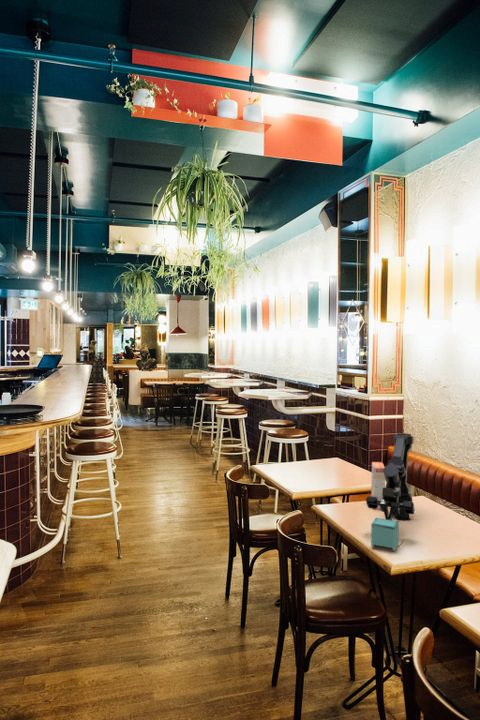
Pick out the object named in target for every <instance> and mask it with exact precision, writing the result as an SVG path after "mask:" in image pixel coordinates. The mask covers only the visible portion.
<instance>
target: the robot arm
mask: <svg viewBox="0 0 480 720" xmlns="http://www.w3.org/2000/svg"><path fill="white" fill-rule="evenodd" d="M414 442H415V438H414V436H412V434H411V433H403V432H402V433H400V432H397V434H393V443H394V448H393V453H392V456H391V457H392V458H390V459H389V460H388V461H387V465H386V466H384V467H385V468H384V469H383V472H384V476H385V488H383V491H382V496H383V497H382V498H383V499H384V500H381V501H379V500H377V497H373V496H371V495H368V496H366V499H365V501H366V506H367V508H368V509H372V510H376V508H378V505H380V508H381V510H380V511H381V512H383V513H384V519H387V520H393V519H394V518H395V520H396V521H399V520H400V521H401V520H402V521H403V520H404V521H406V520H407V521H410V520H411V517H410V515H415V504H414V502H413V497H412V494H411V493H410V492H411V491H410V488H409V485H408V483H407V481H408V463H409V452H410V451H411V449H413V444H414Z"/></svg>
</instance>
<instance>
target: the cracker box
mask: <svg viewBox="0 0 480 720" xmlns="http://www.w3.org/2000/svg"><path fill="white" fill-rule="evenodd" d="M385 467H386V466H385V465H384V463H383V462H382V461H372V462H371V486H370V487H371V489H370V490H371V491H370V494H371V495H370V496H373V497H377V500H379V501H381V500H384V499H383V498H382V497H383V496H382V491H383V488H386V480H385V476H384V472H383V469H384V468H385ZM376 510H378V511H381V508H380V505H378V508H376V509H375V511H376Z"/></svg>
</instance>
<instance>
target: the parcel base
mask: <svg viewBox="0 0 480 720" xmlns="http://www.w3.org/2000/svg"><path fill="white" fill-rule="evenodd" d="M403 541H404V537H403V536H399V543H398V545H397V547H396V548H400V546H401V544H402V543H403Z"/></svg>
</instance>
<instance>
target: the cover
mask: <svg viewBox="0 0 480 720" xmlns="http://www.w3.org/2000/svg"><path fill="white" fill-rule="evenodd" d="M399 524H400V523H399V520H393V519H392V520H387V519H385V518H379V517H375V518H374V519H373V521H372V522H371V530H370V531H371V532H370V533H371V535H370V536H371V537H370V540H371V541H370V545H371V547H374V546H381V547H385V548H390V549H392V551H396V550H397V548H398V547H397V545H398V543H399V537H400V536H399V534H400V533H399V532H400V531H399Z"/></svg>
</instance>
